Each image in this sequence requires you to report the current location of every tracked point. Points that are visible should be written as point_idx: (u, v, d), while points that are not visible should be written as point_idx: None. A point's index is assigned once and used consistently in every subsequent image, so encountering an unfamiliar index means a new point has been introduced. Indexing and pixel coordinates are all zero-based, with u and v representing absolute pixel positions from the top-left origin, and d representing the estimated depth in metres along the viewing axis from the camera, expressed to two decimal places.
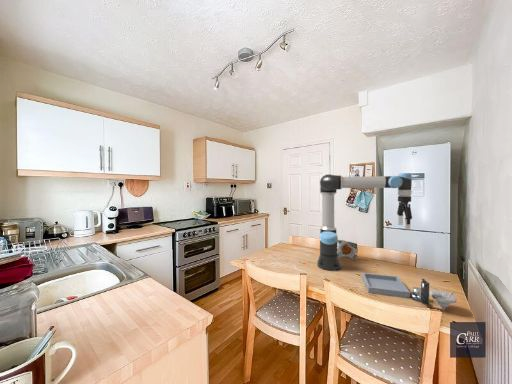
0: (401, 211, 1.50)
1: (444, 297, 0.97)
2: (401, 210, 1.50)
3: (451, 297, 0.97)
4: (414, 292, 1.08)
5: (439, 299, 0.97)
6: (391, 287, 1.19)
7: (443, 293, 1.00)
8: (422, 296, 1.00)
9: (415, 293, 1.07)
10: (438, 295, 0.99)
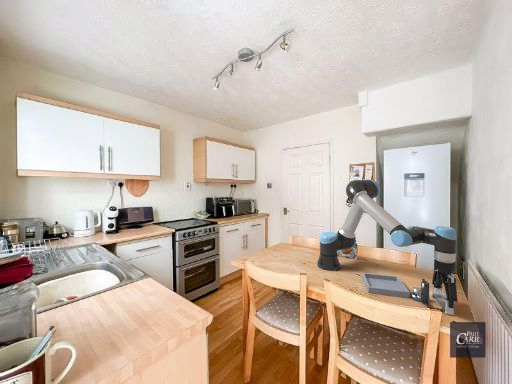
0: (439, 282, 1.03)
1: (444, 297, 0.97)
2: (439, 280, 1.02)
3: None
4: (414, 292, 1.08)
5: (439, 299, 0.97)
6: (391, 287, 1.19)
7: (443, 293, 1.00)
8: (422, 296, 1.00)
9: (415, 293, 1.07)
10: (438, 295, 0.99)
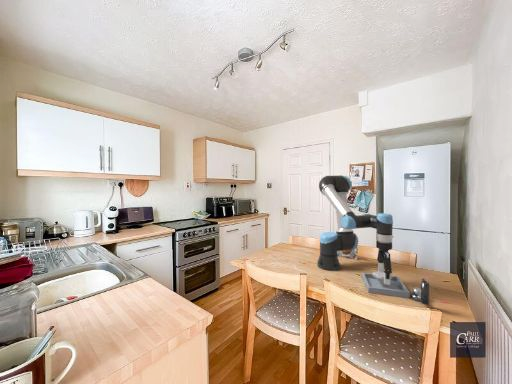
0: (381, 258, 1.24)
1: (382, 275, 1.18)
2: (381, 257, 1.24)
3: None
4: (414, 292, 1.08)
5: (378, 277, 1.18)
6: (391, 287, 1.19)
7: (383, 272, 1.22)
8: (422, 296, 1.00)
9: (415, 293, 1.07)
10: (378, 274, 1.20)
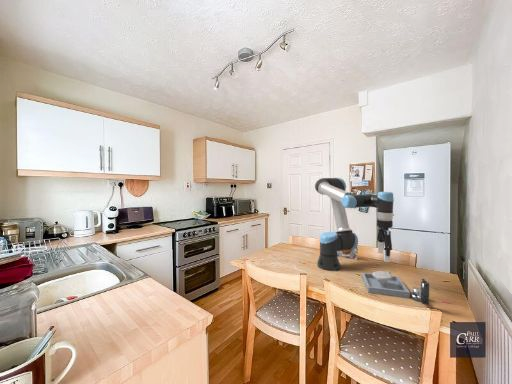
0: (381, 237, 1.24)
1: (381, 276, 1.18)
2: (381, 236, 1.23)
3: (387, 275, 1.18)
4: (414, 292, 1.08)
5: (377, 278, 1.18)
6: (391, 287, 1.19)
7: (382, 273, 1.21)
8: (422, 296, 1.00)
9: (415, 293, 1.07)
10: (377, 274, 1.20)
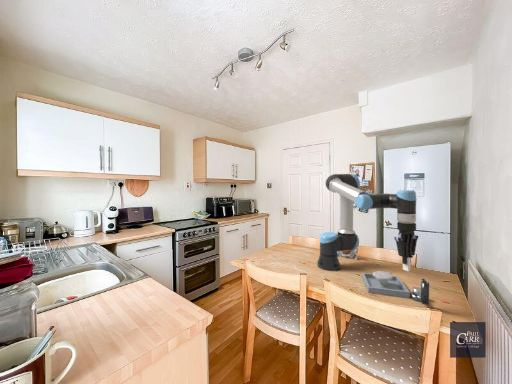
0: None
1: (382, 276, 1.18)
2: None
3: (388, 275, 1.18)
4: (414, 292, 1.08)
5: (378, 278, 1.18)
6: (391, 287, 1.19)
7: (383, 273, 1.21)
8: (422, 296, 1.00)
9: (415, 293, 1.07)
10: (378, 274, 1.20)
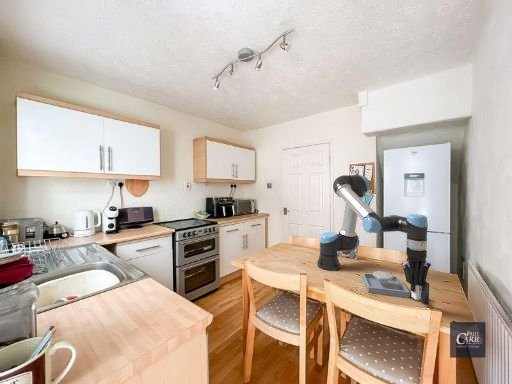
0: None
1: (382, 276, 1.18)
2: None
3: (388, 276, 1.18)
4: None
5: (378, 277, 1.18)
6: (391, 287, 1.19)
7: (383, 273, 1.21)
8: (422, 296, 1.00)
9: None
10: (378, 274, 1.20)
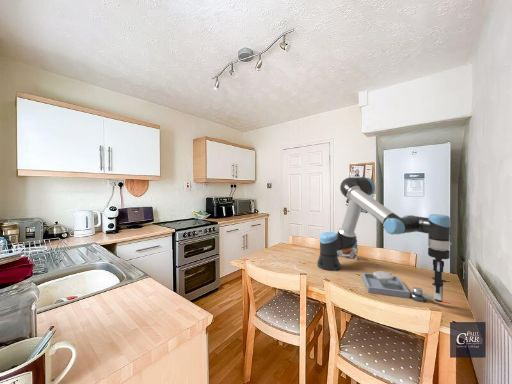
0: None
1: (383, 276, 1.18)
2: None
3: (388, 276, 1.18)
4: (419, 293, 1.06)
5: (378, 277, 1.18)
6: (391, 287, 1.19)
7: (383, 273, 1.21)
8: None
9: (420, 294, 1.06)
10: (378, 274, 1.20)
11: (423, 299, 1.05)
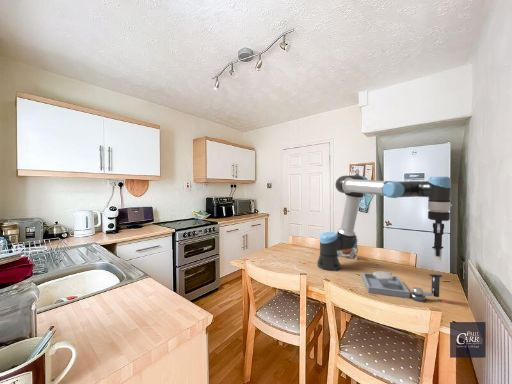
0: None
1: (382, 276, 1.18)
2: None
3: (388, 276, 1.18)
4: (421, 293, 1.06)
5: (378, 277, 1.18)
6: (391, 287, 1.19)
7: (383, 273, 1.21)
8: (438, 290, 1.05)
9: (422, 294, 1.06)
10: (378, 274, 1.20)
11: (423, 299, 1.05)
